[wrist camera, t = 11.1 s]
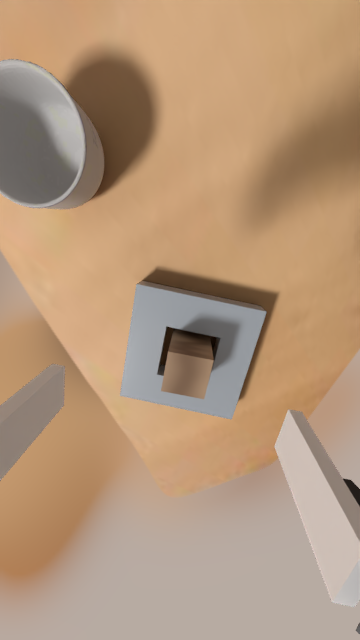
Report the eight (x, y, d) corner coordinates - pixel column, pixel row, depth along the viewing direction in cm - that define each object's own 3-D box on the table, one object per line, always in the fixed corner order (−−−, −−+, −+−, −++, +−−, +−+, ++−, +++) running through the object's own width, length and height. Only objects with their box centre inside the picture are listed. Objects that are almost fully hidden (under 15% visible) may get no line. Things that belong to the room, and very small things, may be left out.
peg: (209, 334, 33) (213, 360, 26) (202, 365, 35) (204, 399, 27) (174, 327, 33) (167, 351, 26) (168, 359, 35) (160, 391, 27)
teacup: (131, 151, 27) (106, 114, 20) (87, 234, 30) (51, 230, 23) (21, 69, 26) (-52, -6, 18) (-13, 165, 29) (-88, 136, 21)
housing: (260, 305, 32) (266, 311, 29) (228, 405, 36) (231, 419, 34) (141, 280, 32) (136, 283, 29) (126, 383, 36) (120, 395, 34)
